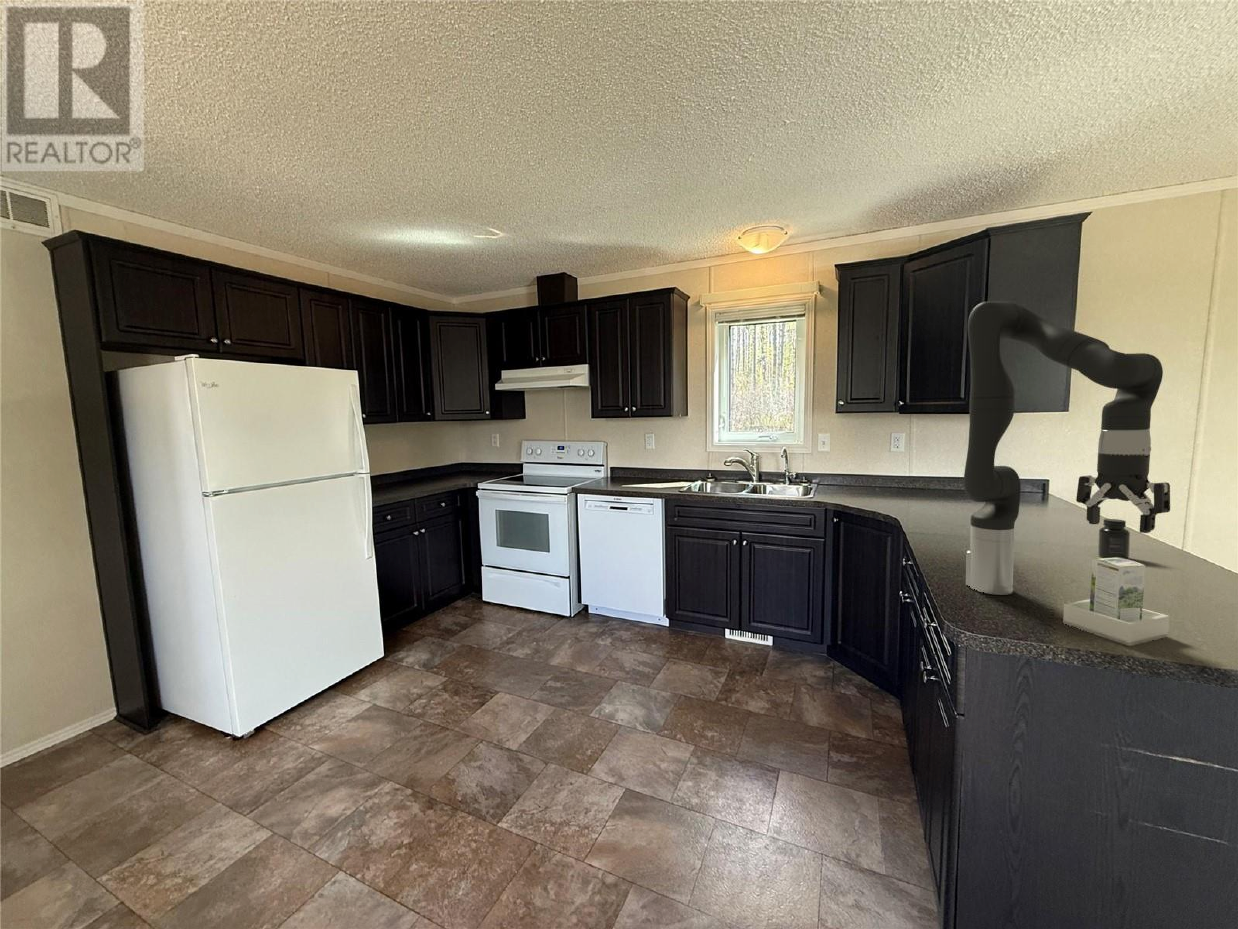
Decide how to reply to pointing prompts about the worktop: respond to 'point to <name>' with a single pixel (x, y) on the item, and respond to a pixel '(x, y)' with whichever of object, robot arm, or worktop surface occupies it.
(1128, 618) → the syrup box
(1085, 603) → the bin
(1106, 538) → the supplement bottle
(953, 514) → the worktop surface
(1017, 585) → the worktop surface
